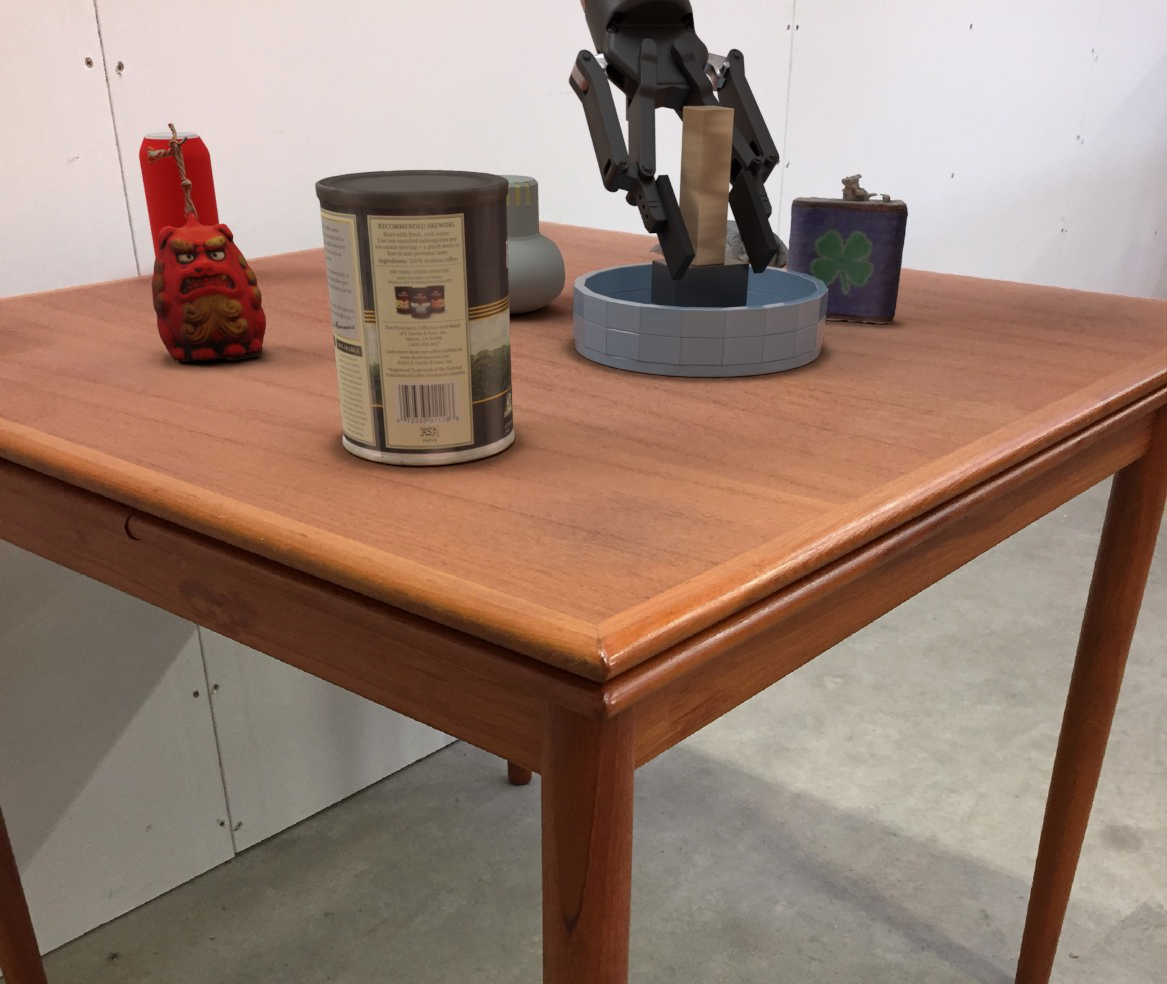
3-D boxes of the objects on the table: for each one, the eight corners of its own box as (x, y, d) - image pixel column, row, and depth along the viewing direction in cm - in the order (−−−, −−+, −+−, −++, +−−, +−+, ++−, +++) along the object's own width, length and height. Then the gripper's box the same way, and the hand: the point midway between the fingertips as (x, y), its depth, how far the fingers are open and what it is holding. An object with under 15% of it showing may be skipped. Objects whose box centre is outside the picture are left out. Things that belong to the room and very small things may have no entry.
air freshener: (572, 318, 104) (572, 184, 99) (475, 325, 101) (470, 188, 96) (531, 293, 112) (529, 169, 107) (441, 299, 110) (435, 173, 105)
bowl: (842, 331, 100) (849, 270, 98) (789, 387, 85) (795, 318, 83) (622, 312, 106) (623, 255, 103) (536, 362, 91) (535, 297, 89)
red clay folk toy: (170, 371, 88) (131, 131, 81) (154, 350, 94) (115, 123, 86) (278, 360, 91) (250, 127, 83) (256, 340, 97) (228, 120, 89)
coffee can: (463, 407, 81) (452, 164, 74) (547, 448, 74) (544, 183, 66) (312, 431, 76) (285, 174, 69) (386, 478, 69) (364, 196, 61)
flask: (779, 316, 104) (791, 174, 99) (786, 310, 107) (798, 170, 101) (892, 325, 102) (911, 179, 96) (897, 318, 104) (916, 175, 99)
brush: (720, 296, 97) (731, 104, 90) (746, 306, 94) (760, 108, 87) (650, 302, 95) (656, 106, 88) (675, 312, 91) (683, 110, 85)
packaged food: (716, 292, 113) (720, 233, 110) (647, 271, 122) (649, 215, 119) (794, 285, 116) (800, 227, 114) (722, 265, 125) (725, 211, 123)
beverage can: (203, 268, 122) (183, 129, 116) (239, 277, 119) (220, 134, 112) (146, 276, 118) (122, 133, 112) (181, 285, 115) (158, 138, 108)
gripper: (722, 33, 100) (814, 287, 96) (499, 34, 94) (588, 307, 90) (762, -49, 93) (863, 222, 89) (524, -54, 87) (621, 238, 83)
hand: (725, 264), depth 89 cm, fingers closed on brush, 6 cm apart
